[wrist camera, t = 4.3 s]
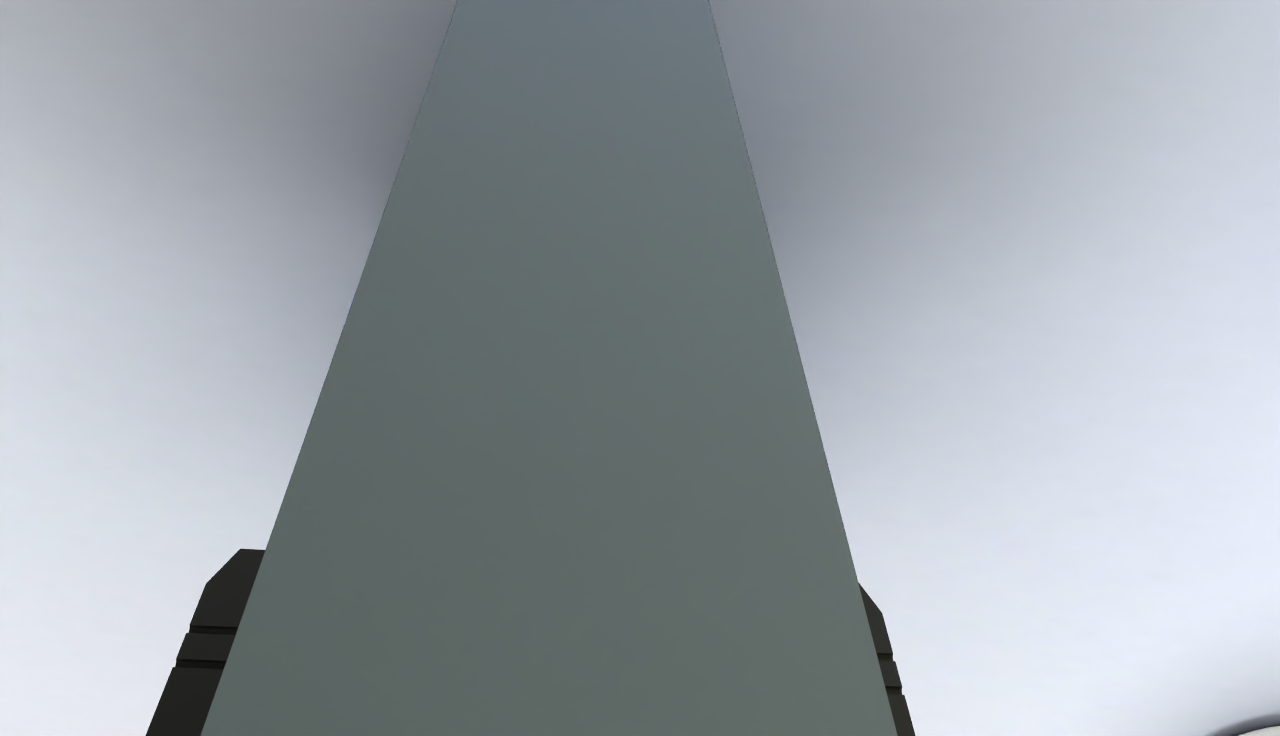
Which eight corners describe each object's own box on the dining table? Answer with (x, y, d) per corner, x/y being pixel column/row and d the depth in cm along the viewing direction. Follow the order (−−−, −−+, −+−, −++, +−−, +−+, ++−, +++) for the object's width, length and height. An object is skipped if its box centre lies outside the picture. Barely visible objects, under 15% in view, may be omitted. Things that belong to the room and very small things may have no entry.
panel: (472, -41, 14) (-308, 2175, 2) (703, -20, 15) (1243, 2086, 2) (466, 530, 20) (249, 2025, 8) (631, 538, 20) (679, 2002, 8)
